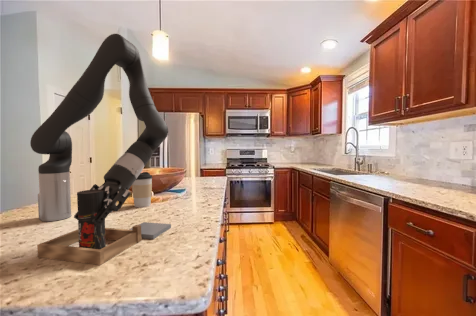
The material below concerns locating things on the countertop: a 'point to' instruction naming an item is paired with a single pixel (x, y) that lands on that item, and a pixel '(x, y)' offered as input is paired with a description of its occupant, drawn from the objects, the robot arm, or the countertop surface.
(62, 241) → the wood frame
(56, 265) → the countertop surface
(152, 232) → the slate coaster
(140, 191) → the coffee cup
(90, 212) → the deodorant
